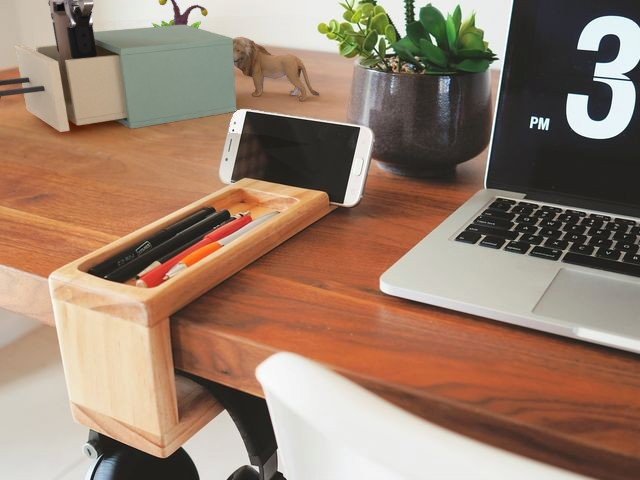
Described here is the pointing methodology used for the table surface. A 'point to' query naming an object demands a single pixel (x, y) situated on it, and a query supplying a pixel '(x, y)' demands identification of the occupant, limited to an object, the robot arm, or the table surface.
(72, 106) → the drawer
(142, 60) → the cabinet
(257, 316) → the table surface
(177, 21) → the plant
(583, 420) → the table surface
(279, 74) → the lion figurine
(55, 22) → the wooden block
